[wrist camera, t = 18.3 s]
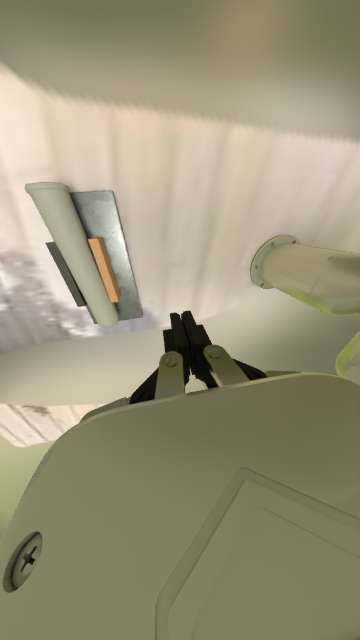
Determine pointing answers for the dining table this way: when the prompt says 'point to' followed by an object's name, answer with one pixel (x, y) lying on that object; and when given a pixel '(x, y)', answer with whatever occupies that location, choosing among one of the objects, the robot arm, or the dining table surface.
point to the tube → (73, 247)
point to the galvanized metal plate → (105, 222)
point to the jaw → (105, 268)
